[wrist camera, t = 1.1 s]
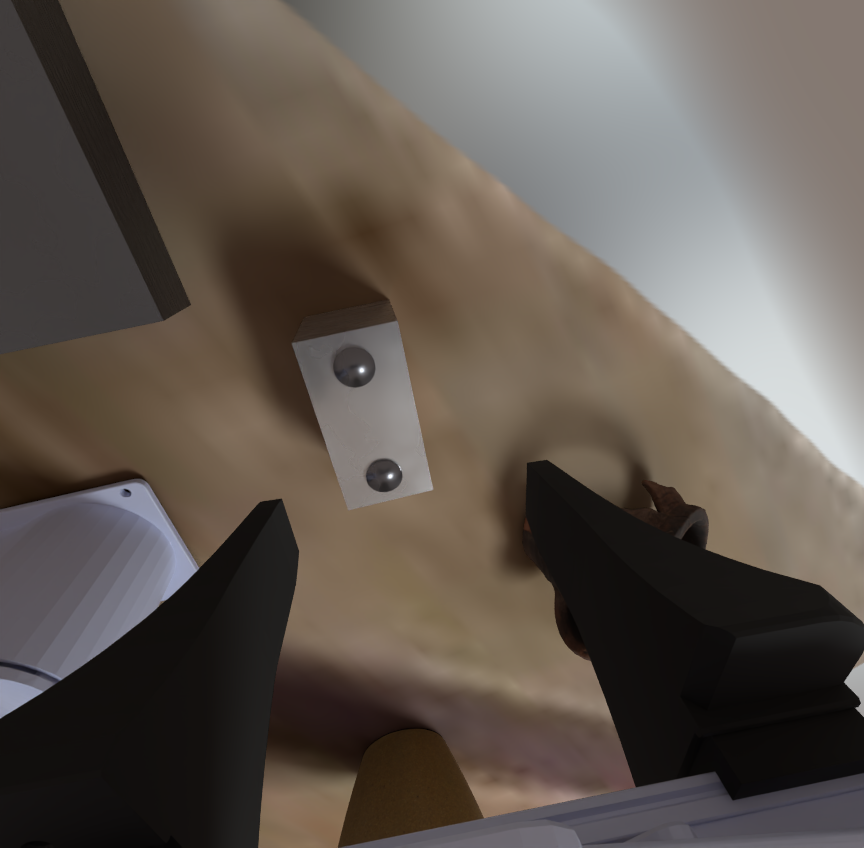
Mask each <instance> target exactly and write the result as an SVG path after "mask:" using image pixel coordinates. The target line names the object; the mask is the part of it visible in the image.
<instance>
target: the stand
mask: <svg viewBox="0 0 864 848" xmlns="http://www.w3.org/2000/svg"><path fill="white" fill-rule="evenodd" d="M190 305H191V304H190V302H189V299H188V297H187V295H186V293H185V290H184V288H183V286H182V283H181V281H180V279H179V277H178V274H177V272H176V270H175V267H174V265H173V263H172V260H171V258H170V256H169V254H168V251H167V249H166V247H165V244H164V242H163V240H162V238H161V235H160V233H159V231H158V228H157V226H156V224H155V222H154V219H153V217H152V215H151V212H150V210H149V208H148V205H147V203H146V201H145V199H144V196H143V194H142V192H141V189H140V187H139V185H138V183H137V180H136V178H135V176H134V173H133V171H132V169H131V167H130V164H129V162H128V160H127V157H126V155H125V153H124V151H123V148H122V146H121V144H120V141H119V139H118V137H117V134H116V132H115V130H114V128H113V125H112V123H111V121H110V118H109V116H108V114H107V112H106V109H105V107H104V105H103V102H102V100H101V98H100V96H99V93H98V91H97V89H96V86H95V84H94V82H93V79H92V77H91V75H90V73H89V70H88V68H87V66H86V63H85V61H84V59H83V57H82V54H81V52H80V50H79V47H78V45H77V43H76V41H75V38H74V36H73V34H72V31H71V29H70V27H69V24H68V22H67V20H66V18H65V15H64V13H63V11H62V8H61V6H60V4H59V2H58V0H0V354H3V353H8V352H13V351H18V350H23V349H28V348H33V347H38V346H43V345H47V344H52V343H57V342H62V341H67V340H72V339H77V338H82V337H86V336H91V335H96V334H101V333H106V332H111V331H116V330H121V329H126V328H130V327H135V326H140V325H145V324H150V323H155V322H160V321H164V320H166V319H167V318H169V317H171V316H173V315H174V314H176V313H178V312H179V311H181V310H183V309H185V308H186V307H188V306H190Z"/></svg>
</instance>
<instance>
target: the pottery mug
mask: <svg viewBox="0 0 864 848" xmlns="http://www.w3.org/2000/svg"><path fill="white" fill-rule="evenodd" d="M642 485H643V486H644V487H645V488H646V490H647V491H648V492H649V494H650V495H651V497H652V500H653V502H654V505H655V507H656V509H657V511H655V510H653V509H651V508H639V509H633V510H631V509H626V508H625V509H622V510H624V511H626V512H627V513H629V514H631V515H632V516H634V517H636V518H638V519H640V520H642V521H644V522H646V523H648V524H650V525H652V526H654V527H656V528H658V529H660V530H662V531H664V532H666V533H668V534H670V535H672V536H675V537H677V538H679V539H681V540H684V541H686V542H688V543H691V544H693V545H696V546H698V547H701V548H703V549H706V544H707V537H708V526H709V522H708V517H707V514H706V512H705V509H702V508H701V507H698V506H695V505H688V504H686V503H685V502H684V500H683V499H682V497H681V496H680V494H679V493H678V492H677V491H676V489H675V488H673V487H665V486H662V485H659V484H657V483H655V482H652V481H648V480H643V481H642ZM523 546H524V550H525V552H526V554H527V556H528V557H529V558H530V559H531V560H532V561H533V562H534V563H535V564H536V565H537V566H538V568H539V569H540V570H541V571H542V572H543V574H544V575H545V577H546V578H547V580H548V581H550V582H551V583H552V585H553V587H554V591H555V618H556V624H557V627H558V630H559V633H560V635H561V637H562V639H563V641H564V642H565V644H566V645H567V646H568V648H569V649H570V650H572V651H573V652H574V653H575V654H576V655H579V656H580V657H582V658H583V659H586V660H590V661H591V659H590V657H589V654H588V652H587V649H586V647H585V644H584V642H583V639H582V637H581V634H580V632H579V629H578V627H577V625H576V622H575V620H574V618H573V616H572V614H571V612H570V610H569V608H568V606H567V604H566V602H565V600H564V598H563V596H562V594H561V592H560V590H559V589H558V587H557V585H556V583H555V581H554V579H553V577H552V575H551V573H550V571H549V569H548V567H547V565H546V564H545V562H544V560H543V558H542V556H541V554H540V552H539V550H538V548H537V546H536V543H535V540H534V538H533V535H532V533H531V530H530V527H529V524H528V521H527V518H526V517H525V523H524V530H523Z"/></svg>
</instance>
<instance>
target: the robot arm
mask: <svg viewBox="0 0 864 848" xmlns="http://www.w3.org/2000/svg"><path fill="white" fill-rule="evenodd" d="M124 489H128V490H130V491H131V493H128V492H126V491H125V490H124ZM526 518H527V521H528V524H529V527H530V530H531V533H532V535H533V538H534V540H535V543H536V546H537V548H538V550H539V552H540V554H541V556H542V558H543V560H544V562H545V564H546V565H547V567H548V569H549V571H550V573H551V575H552V577H553V579H554V581H555V583H556V585H557V587H558V589H559V590H560V592H561V594H562V596H563V598H564V600H565V602H566V604H567V606H568V608H569V610H570V612H571V614H572V616H573V618H574V620H575V622H576V625H577V627H578V629H579V632H580V634H581V637H582V639H583V642H584V644H585V647H586V649H587V652H588V654H589V657H590V659H591V662H592V665H593V667H594V670H595V673H596V675H597V678H598V680H599V683H600V686H601V688H602V691H603V694H604V696H605V699H606V702H607V705H608V707H609V710H610V713H611V716H612V719H613V722H614V724H615V727H616V730H617V733H618V736H619V738H620V741H621V744H622V747H623V750H624V753H625V756H626V759H627V762H628V765H629V768H630V771H631V774H632V777H633V780H634V783H635V786H636V788H631V789H626V790H621V791H616V792H611V793H606V794H601V795H597V796H592V797H587V798H582V799H577V800H572V801H567V802H562V803H557V804H552V805H547V806H542V807H537V808H533V809H528V810H523V811H518V812H513V813H508V814H503V815H498V816H493V817H488V818H483V819H478V820H473V821H468V822H464V823H459V824H454V825H449V826H444V827H439V828H434V829H429V830H424V831H419V832H414V833H409V834H404V835H400V836H395V837H390V838H385V839H380V840H375V841H370V842H365V843H360V844H355V845H350V846H345V847H340V848H864V717H863V716H862V715H861V714H860V713H859V712H858V711H857V710H856V709H855V708H856V707H859V705H860V704H861V702H860V700H859V698H858V696H857V695H856V694H855V693H854V692H853V691H852V690H851V689H850V688H849V687H848V686H847V685H846V684H845V683H844V681H845V679H846V678H847V676H848V675H849V673H850V672H851V670H852V669H853V667H854V666H855V664H856V663H857V661H858V660H859V658H860V657H861V655H862V653H863V651H864V624H863V622H862V621H861V620H860V619H858V618H857V617H856V616H855V615H854V614H853V613H852V612H850V611H849V610H848V609H847V608H846V607H845V606H843V605H842V604H841V603H840V602H839V601H838V600H836V599H835V598H834V597H833V596H832V595H831V594H830V593H828V592H827V591H826V590H825V589H824V588H822V587H821V586H820V585H816V584H813V583H809V582H806V581H802V580H798V579H795V578H791V577H788V576H784V575H780V574H777V573H773V572H770V571H766V570H763V569H760V568H756V567H753V566H750V565H747V564H744V563H742V562H739V561H736V560H733V559H730V558H727V557H724V556H721V555H719V554H716V553H713V552H711V551H708V550H706V549H703V548H701V547H698V546H696V545H693V544H691V543H688V542H686V541H684V540H681V539H679V538H677V537H675V536H672V535H670V534H668V533H666V532H664V531H662V530H660V529H658V528H656V527H654V526H652V525H650V524H648V523H646V522H644V521H642V520H640V519H638V518H636V517H634V516H632V515H631V514H629V513H627V512H626V511H624V510H622V509H620V508H619V507H617V506H615V505H614V504H612V503H610V502H609V501H607V500H605V499H604V498H602V497H601V496H599V495H598V494H596V493H595V492H593V491H592V490H590V489H589V488H587V487H586V486H584V485H583V484H581V483H580V482H578V481H577V480H575V479H574V478H572V477H571V476H570V475H568V474H567V473H565V472H564V471H563V470H561V469H560V468H558V467H557V466H555V465H554V464H552V463H551V462H549V461H548V460H543V461H536V462H529V463H527V485H526ZM298 557H299V550H298V547H297V544H296V540H295V537H294V534H293V531H292V528H291V525H290V522H289V519H288V516H287V513H286V510H285V507H284V504H283V501H282V499H276V500H269V501H263V502H260V503H259V504H258V505H257V506H256V507H255V508H254V509H253V510H252V511H251V513H250V514H249V515H248V516H247V517H246V518H245V519H244V521H243V522H242V523H241V524H240V525H239V526H238V527H237V529H236V530H235V531H234V532H233V533H232V534H231V535H230V536H229V537H228V539H227V540H226V541H225V542H224V543H223V544H222V545H221V546H220V547H219V549H218V550H217V551H216V552H215V553H214V554H213V555H212V556H211V557H210V558H209V559H208V560H207V561H206V562H205V563H204V564H203V565H202V566H201V567H200V568H199V567H198V565H197V563H196V562H195V560H194V559H193V557H192V555H191V554H190V552H189V550H188V549H187V547H186V545H185V544H184V542H183V540H182V539H181V537H180V535H179V534H178V532H177V530H176V529H175V527H174V525H173V524H172V522H171V520H170V519H169V517H168V515H167V514H166V512H165V511H164V509H163V507H162V506H161V504H160V502H159V501H158V499H157V497H156V496H155V494H154V492H153V491H152V489H151V487H150V486H149V484H148V483H147V482H146V481H144V480H142V479H131V480H127V481H123V482H118V483H114V484H109V485H105V486H101V487H96V488H92V489H88V490H83V491H79V492H74V493H70V494H66V495H61V496H57V497H52V498H48V499H44V500H39V501H35V502H31V503H26V504H22V505H17V506H13V507H9V508H4V509H0V848H258V841H259V826H260V812H261V800H262V789H263V778H264V767H265V756H266V747H267V738H268V729H269V720H270V712H271V704H272V697H273V689H274V681H275V675H276V670H277V665H278V660H279V655H280V651H281V647H282V643H283V638H284V634H285V630H286V626H287V621H288V617H289V613H290V608H291V604H292V600H293V595H294V591H295V586H296V579H297V569H298ZM164 600H166V601H165V602H164V603H162V604H161V605H160V606H159V607H158V605H159V603H160V601H164ZM157 607H158V608H157Z"/></svg>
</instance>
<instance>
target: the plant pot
mask: <svg viewBox="0 0 864 848" xmlns="http://www.w3.org/2000/svg"><path fill="white" fill-rule="evenodd" d="M483 818H484V817H483V815H482V813H481V811H480V809H479V806H478V804H477V802H476V800H475V798H474V796H473V794H472V792H471V790H470V788H469V785H468V783H467V781H466V780H465V778H464V776H463V774H462V772H461V770H460V768H459V766H458V764H457V762H456V760H455V759H454V757H453V755H452V753H451V751H450V750H449V748H448V746H447V744H446V742H445V741H444V739H443V738H442V737H441V736H440V735H439V734H437V733H435V732H433V731H430V730H426V729H405V730H400V731H397V732H393V733H390V734H388V735H385V736H383V737H382V738H380V739H378V740H377V741H375V742H374V743H373V744H371V745H370V746H369V747H368V749H367V750H366V751H365V753H364V755H363V758H362V761H361V764H360V768H359V771H358V774H357V778H356V781H355V784H354V788H353V791H352V795H351V798H350V802H349V806H348V809H347V813H346V817H345V821H344V825H343V828H342V832H341V836H340V841H339V845H338V848H340V847H345V846H350V845H355V844H360V843H365V842H370V841H375V840H380V839H385V838H390V837H395V836H400V835H404V834H409V833H414V832H419V831H424V830H429V829H434V828H439V827H444V826H449V825H454V824H459V823H464V822H468V821H473V820H478V819H483Z"/></svg>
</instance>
